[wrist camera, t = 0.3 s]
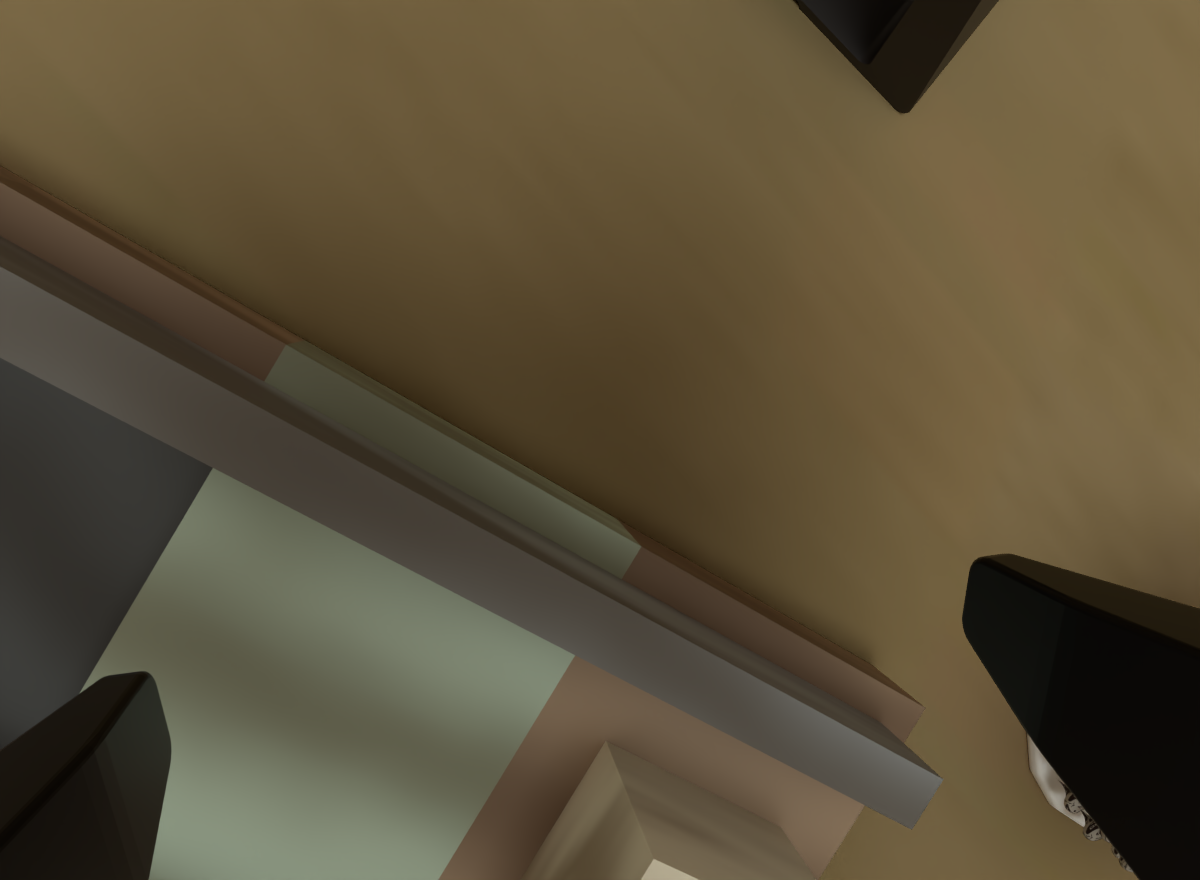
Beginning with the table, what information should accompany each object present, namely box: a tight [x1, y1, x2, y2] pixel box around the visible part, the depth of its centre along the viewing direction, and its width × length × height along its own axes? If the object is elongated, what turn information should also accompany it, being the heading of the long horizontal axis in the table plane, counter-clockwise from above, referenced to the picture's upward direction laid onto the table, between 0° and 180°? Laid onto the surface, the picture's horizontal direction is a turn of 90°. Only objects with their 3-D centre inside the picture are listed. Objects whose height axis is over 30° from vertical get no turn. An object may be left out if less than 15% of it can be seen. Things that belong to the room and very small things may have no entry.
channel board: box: [0, 166, 943, 880], centre depth 21 cm, size 16×31×6 cm, turn 58°
